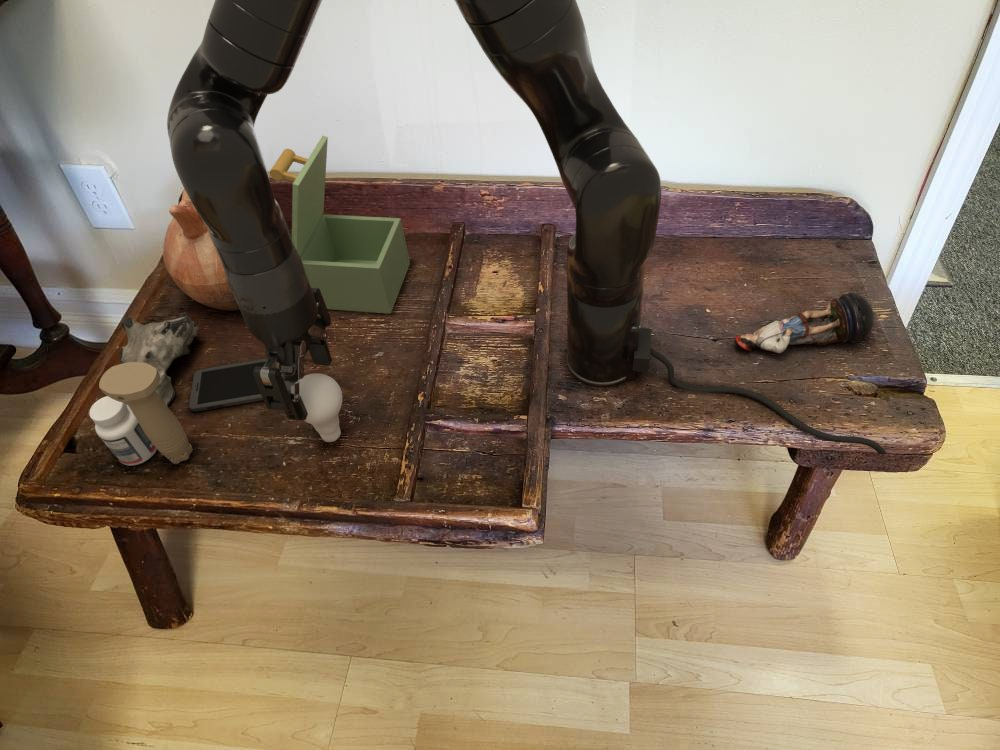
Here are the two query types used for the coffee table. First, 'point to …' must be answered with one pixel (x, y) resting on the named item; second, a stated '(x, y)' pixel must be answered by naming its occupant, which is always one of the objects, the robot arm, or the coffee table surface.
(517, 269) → the coffee table surface
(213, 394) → the cell phone
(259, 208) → the robot arm
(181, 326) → the decorative stone
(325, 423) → the lightbulb
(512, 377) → the coffee table surface
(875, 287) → the coffee table surface
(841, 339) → the figurine
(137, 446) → the pill bottle
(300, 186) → the chest lid
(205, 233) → the jug
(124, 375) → the handle
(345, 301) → the chest
